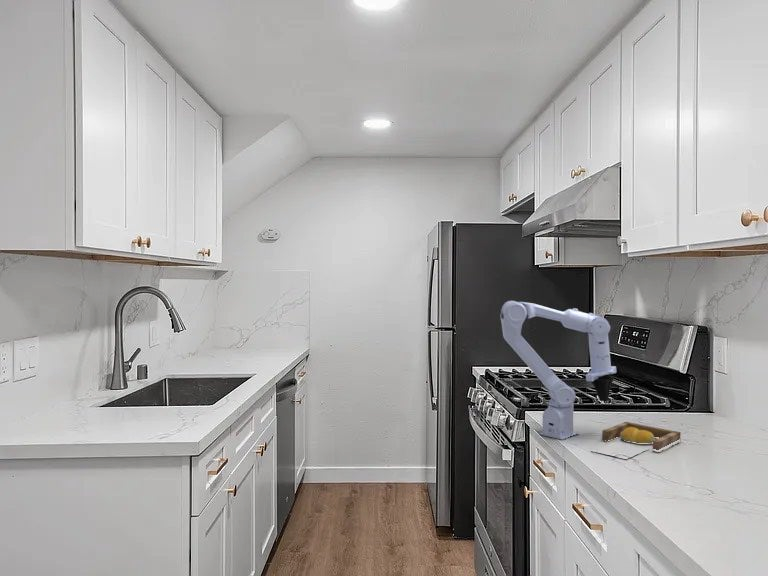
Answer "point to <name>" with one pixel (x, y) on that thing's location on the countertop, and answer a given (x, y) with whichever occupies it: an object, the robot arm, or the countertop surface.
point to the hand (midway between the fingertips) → (603, 400)
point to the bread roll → (637, 435)
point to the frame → (663, 434)
